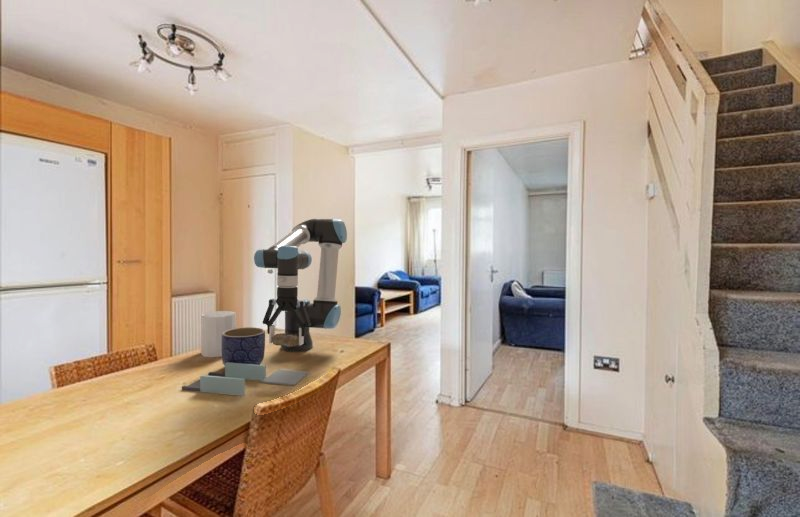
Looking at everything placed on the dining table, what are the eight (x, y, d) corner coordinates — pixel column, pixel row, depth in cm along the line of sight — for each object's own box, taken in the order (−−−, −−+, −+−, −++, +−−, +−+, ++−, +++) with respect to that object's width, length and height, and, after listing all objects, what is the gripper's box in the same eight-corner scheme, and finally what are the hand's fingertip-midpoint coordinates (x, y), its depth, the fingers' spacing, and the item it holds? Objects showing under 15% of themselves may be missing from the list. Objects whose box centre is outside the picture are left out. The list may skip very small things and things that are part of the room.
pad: (278, 370, 150) (278, 369, 150) (308, 373, 148) (308, 371, 148) (261, 382, 137) (261, 381, 137) (294, 385, 135) (294, 384, 135)
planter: (228, 377, 141) (228, 339, 141) (215, 366, 154) (216, 330, 153) (271, 368, 152) (271, 333, 151) (256, 358, 165) (256, 325, 164)
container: (201, 358, 162) (202, 318, 161) (200, 350, 174) (200, 312, 174) (237, 354, 169) (238, 315, 169) (234, 346, 182) (234, 310, 181)
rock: (296, 348, 138) (296, 336, 138) (268, 346, 139) (268, 334, 139) (304, 344, 145) (305, 332, 145) (277, 341, 147) (278, 330, 147)
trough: (210, 374, 144) (210, 360, 143) (265, 379, 140) (265, 365, 140) (181, 389, 129) (181, 374, 129) (243, 395, 125) (243, 379, 125)
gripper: (253, 286, 139) (252, 343, 140) (313, 289, 136) (312, 348, 137) (263, 284, 147) (262, 338, 147) (320, 286, 143) (319, 342, 144)
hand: (286, 343), depth 142 cm, fingers closed on rock, 11 cm apart
